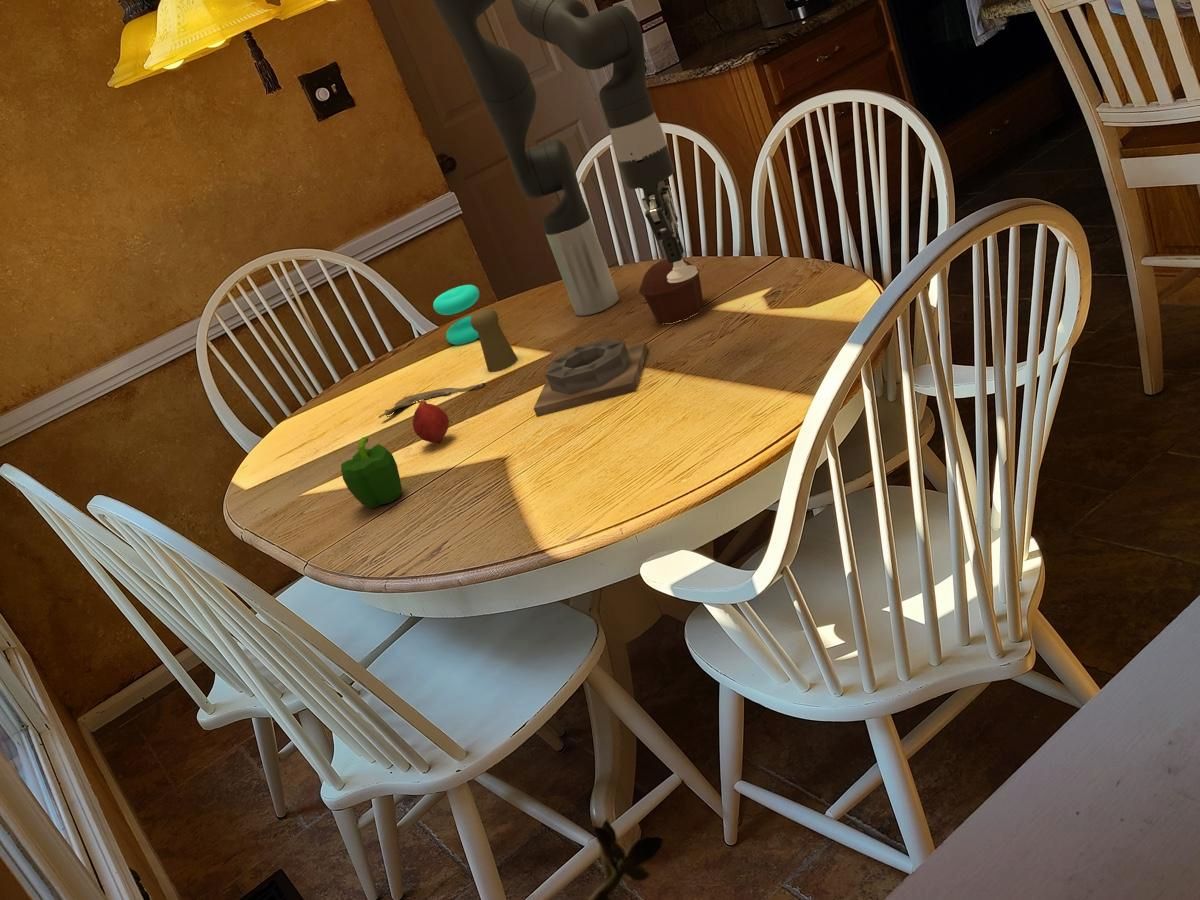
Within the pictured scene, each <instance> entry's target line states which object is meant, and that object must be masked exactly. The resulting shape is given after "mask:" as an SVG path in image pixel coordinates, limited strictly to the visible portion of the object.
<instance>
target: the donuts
mask: <svg viewBox="0 0 1200 900" xmlns="http://www.w3.org/2000/svg"><path fill="white" fill-rule="evenodd" d="M479 298H480V290H479V288H478V287H477V286H476V285H474V284H464V285H459V286H457V287H453V288H450V289H448V290H446V291H445V292H444V291H443V293H441V294H440V295H438V296H437V297H436V298H435V299H434V301H433V302H432V303H433V305H432V306H433V310H434V311H435V312H436V313H437V314H439V315H443V316H451V315H455V314H458V313H461V312H463V311H465V310H467V309H469V308H471V307H472V306H473V305H475V304H476V302H478V299H479ZM472 316H473V314H470V315H468V316H465V317H463V318H460V319H457V321H455V322H454V323H452V324H451V325H450V326H449V327H448V329H447V331H446V334H445V336H446V337H445V338H446V340H447V342H448V343H449V344H451V345H459V346H460V345H464V344H469V343H472V342H473V341H476V340H478V338H479V335H478V332H477V331H475V330H474V329H473V327H472V325H471V317H472Z"/></svg>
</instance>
